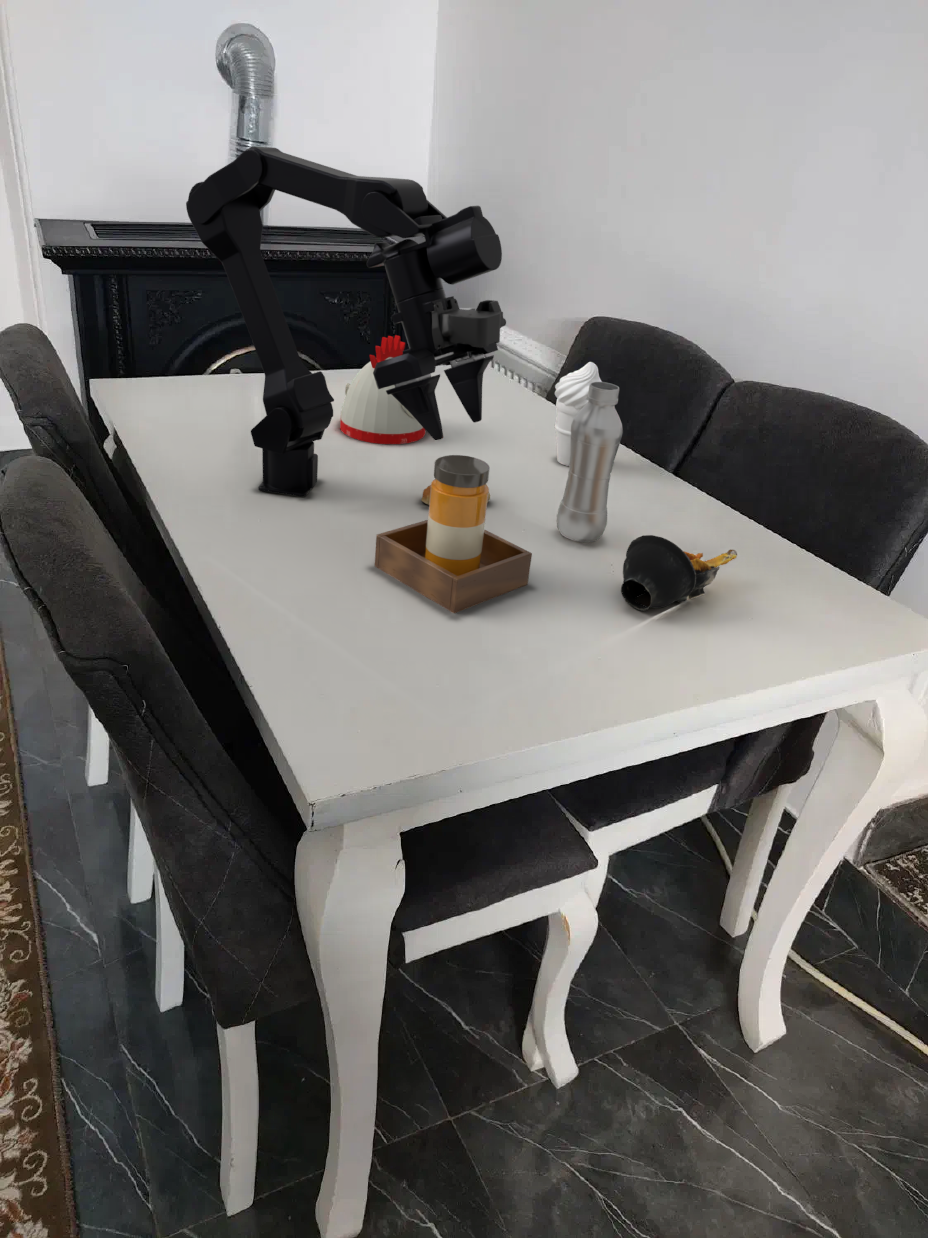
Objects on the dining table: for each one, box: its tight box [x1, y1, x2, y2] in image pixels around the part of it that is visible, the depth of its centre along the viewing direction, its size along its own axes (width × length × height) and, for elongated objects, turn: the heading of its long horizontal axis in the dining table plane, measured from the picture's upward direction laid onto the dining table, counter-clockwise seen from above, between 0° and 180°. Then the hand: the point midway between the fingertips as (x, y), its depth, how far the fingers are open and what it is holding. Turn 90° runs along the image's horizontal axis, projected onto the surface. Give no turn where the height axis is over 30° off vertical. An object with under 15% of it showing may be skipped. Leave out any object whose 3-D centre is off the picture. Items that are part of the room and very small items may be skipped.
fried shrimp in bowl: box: [620, 534, 738, 612], centre depth 107 cm, size 9×11×18 cm
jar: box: [425, 454, 490, 576], centre depth 103 cm, size 6×6×14 cm
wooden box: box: [374, 519, 533, 614], centre depth 106 cm, size 13×12×4 cm
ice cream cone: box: [554, 361, 603, 467], centre depth 142 cm, size 8×8×16 cm
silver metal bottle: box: [556, 381, 624, 543], centre depth 116 cm, size 6×7×20 cm
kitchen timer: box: [339, 334, 426, 445], centre depth 147 cm, size 14×14×15 cm
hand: (458, 430), depth 109 cm, fingers open, 9 cm apart
